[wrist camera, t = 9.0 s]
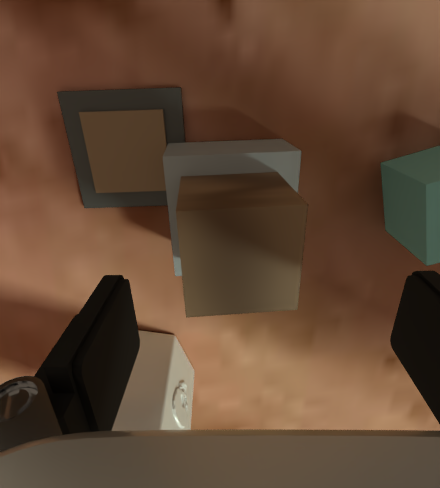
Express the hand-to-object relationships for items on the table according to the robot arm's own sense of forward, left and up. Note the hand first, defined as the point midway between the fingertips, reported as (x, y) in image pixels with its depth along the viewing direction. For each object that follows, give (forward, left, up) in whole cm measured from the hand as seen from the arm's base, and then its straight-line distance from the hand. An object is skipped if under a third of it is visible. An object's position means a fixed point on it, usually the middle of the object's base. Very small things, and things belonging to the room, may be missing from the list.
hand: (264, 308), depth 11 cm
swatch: (+7, -3, -12) cm, 14 cm away
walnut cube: (+1, 0, -8) cm, 8 cm away
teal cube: (-12, 0, -12) cm, 17 cm away
